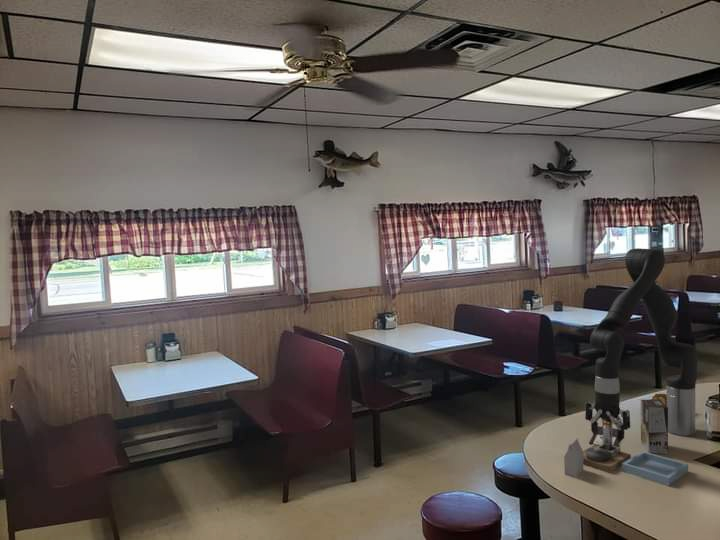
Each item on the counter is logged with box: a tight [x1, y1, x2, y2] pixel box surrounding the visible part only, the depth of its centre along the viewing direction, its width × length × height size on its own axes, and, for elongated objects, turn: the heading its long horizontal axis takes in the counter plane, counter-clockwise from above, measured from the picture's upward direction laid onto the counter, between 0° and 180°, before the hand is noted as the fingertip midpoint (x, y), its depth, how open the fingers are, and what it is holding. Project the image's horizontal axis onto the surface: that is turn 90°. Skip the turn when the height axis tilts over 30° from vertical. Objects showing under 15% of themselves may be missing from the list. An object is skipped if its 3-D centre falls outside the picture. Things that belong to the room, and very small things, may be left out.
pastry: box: [651, 393, 667, 406], centre depth 226 cm, size 14×12×8 cm
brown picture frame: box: [588, 425, 620, 447], centre depth 202 cm, size 9×1×18 cm
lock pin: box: [601, 419, 614, 451], centre depth 185 cm, size 3×3×11 cm
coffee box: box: [640, 398, 669, 455], centre depth 191 cm, size 9×6×16 cm
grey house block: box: [563, 438, 584, 478], centre depth 176 cm, size 4×7×10 cm, turn 141°
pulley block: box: [583, 444, 632, 474], centre depth 183 cm, size 14×12×5 cm
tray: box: [621, 450, 689, 487], centre depth 174 cm, size 14×14×2 cm
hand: (607, 436), depth 185 cm, fingers open, 8 cm apart
